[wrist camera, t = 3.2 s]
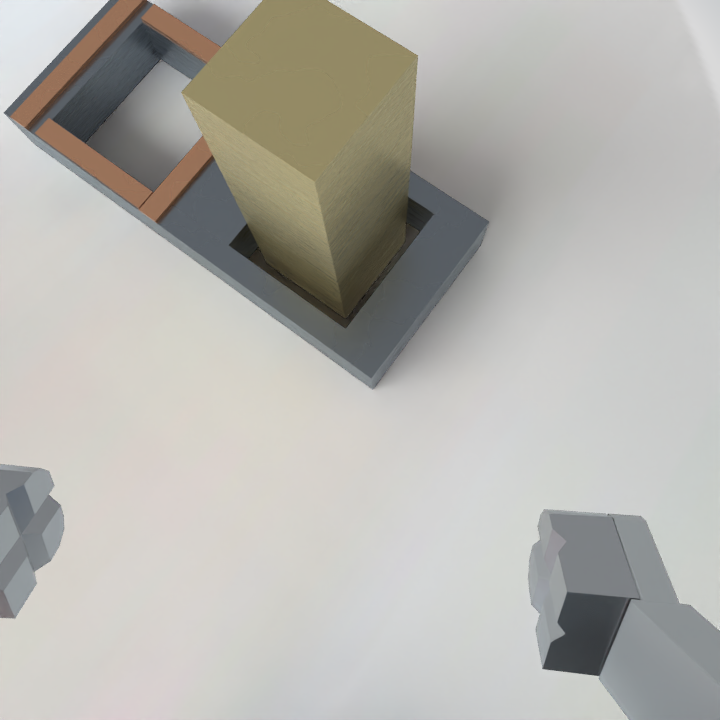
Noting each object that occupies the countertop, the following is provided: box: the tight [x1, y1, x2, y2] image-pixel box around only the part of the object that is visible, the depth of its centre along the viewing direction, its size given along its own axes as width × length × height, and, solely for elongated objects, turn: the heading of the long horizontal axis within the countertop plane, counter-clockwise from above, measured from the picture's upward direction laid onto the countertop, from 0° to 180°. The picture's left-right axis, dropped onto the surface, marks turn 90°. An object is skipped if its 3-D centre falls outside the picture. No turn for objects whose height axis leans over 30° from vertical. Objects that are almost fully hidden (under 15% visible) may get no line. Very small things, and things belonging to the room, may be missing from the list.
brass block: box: [181, 0, 418, 319], centre depth 22 cm, size 4×4×12 cm
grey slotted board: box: [4, 0, 489, 389], centre depth 28 cm, size 20×8×3 cm, turn 53°
